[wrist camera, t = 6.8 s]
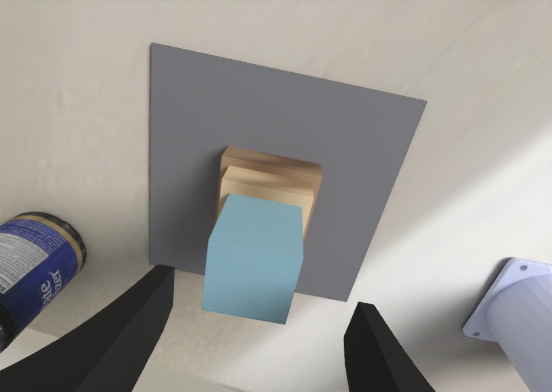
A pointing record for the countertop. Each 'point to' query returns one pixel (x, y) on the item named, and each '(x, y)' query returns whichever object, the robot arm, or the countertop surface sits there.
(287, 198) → the tower mid
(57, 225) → the pill bottle
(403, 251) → the countertop surface
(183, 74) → the mat
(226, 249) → the block
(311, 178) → the tower base
